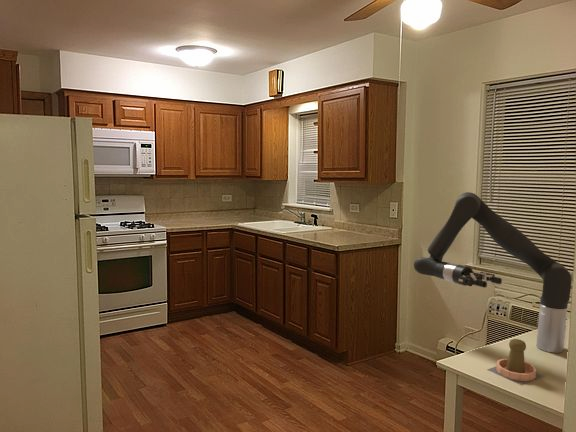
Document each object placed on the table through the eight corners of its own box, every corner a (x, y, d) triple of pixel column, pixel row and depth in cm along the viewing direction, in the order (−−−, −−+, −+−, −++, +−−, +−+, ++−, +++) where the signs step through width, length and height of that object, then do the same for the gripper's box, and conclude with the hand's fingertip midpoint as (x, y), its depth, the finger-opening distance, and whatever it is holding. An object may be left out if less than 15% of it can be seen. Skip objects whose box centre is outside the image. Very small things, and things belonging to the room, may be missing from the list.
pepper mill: (527, 376, 161) (530, 344, 159) (508, 374, 162) (510, 343, 160) (522, 368, 167) (525, 337, 165) (503, 366, 168) (506, 336, 166)
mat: (510, 362, 173) (510, 361, 173) (544, 377, 162) (545, 376, 162) (486, 370, 166) (487, 369, 166) (521, 386, 155) (521, 385, 155)
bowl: (510, 362, 172) (511, 355, 172) (543, 376, 162) (543, 369, 162) (488, 369, 166) (489, 363, 166) (521, 384, 156) (521, 377, 156)
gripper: (445, 267, 186) (481, 275, 172) (469, 262, 193) (506, 270, 179) (445, 285, 186) (480, 296, 173) (469, 280, 194) (505, 290, 180)
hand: (493, 283), depth 176 cm, fingers open, 8 cm apart
